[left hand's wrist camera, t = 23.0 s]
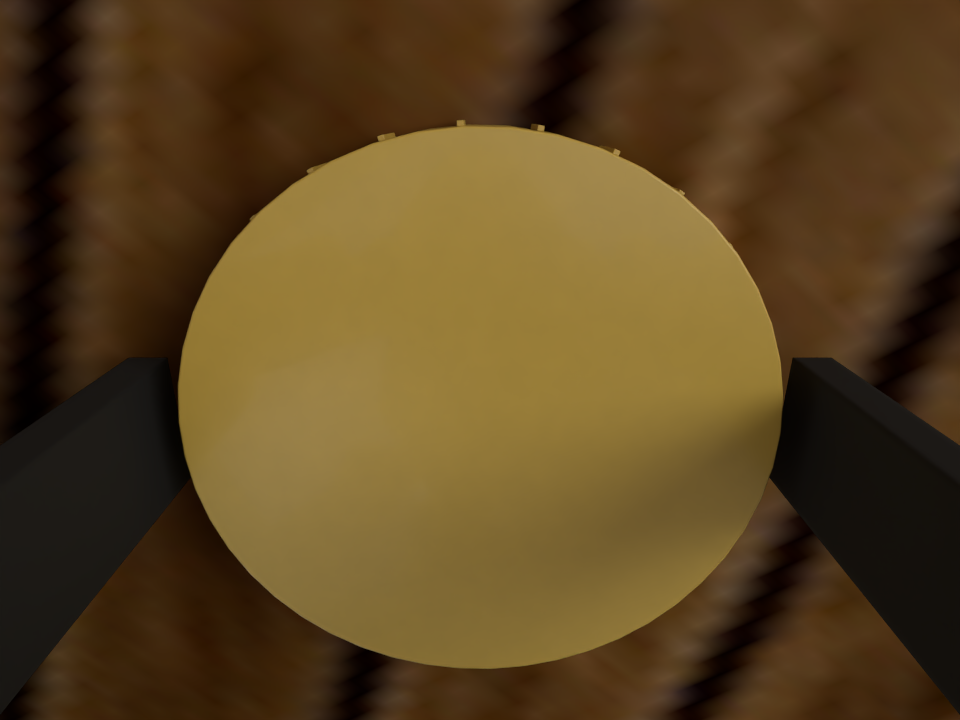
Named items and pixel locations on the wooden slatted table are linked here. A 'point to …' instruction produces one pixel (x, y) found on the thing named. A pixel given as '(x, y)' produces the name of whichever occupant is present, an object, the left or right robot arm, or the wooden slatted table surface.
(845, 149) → the wooden slatted table surface
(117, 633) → the wooden slatted table surface
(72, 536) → the left robot arm
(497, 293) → the lid
